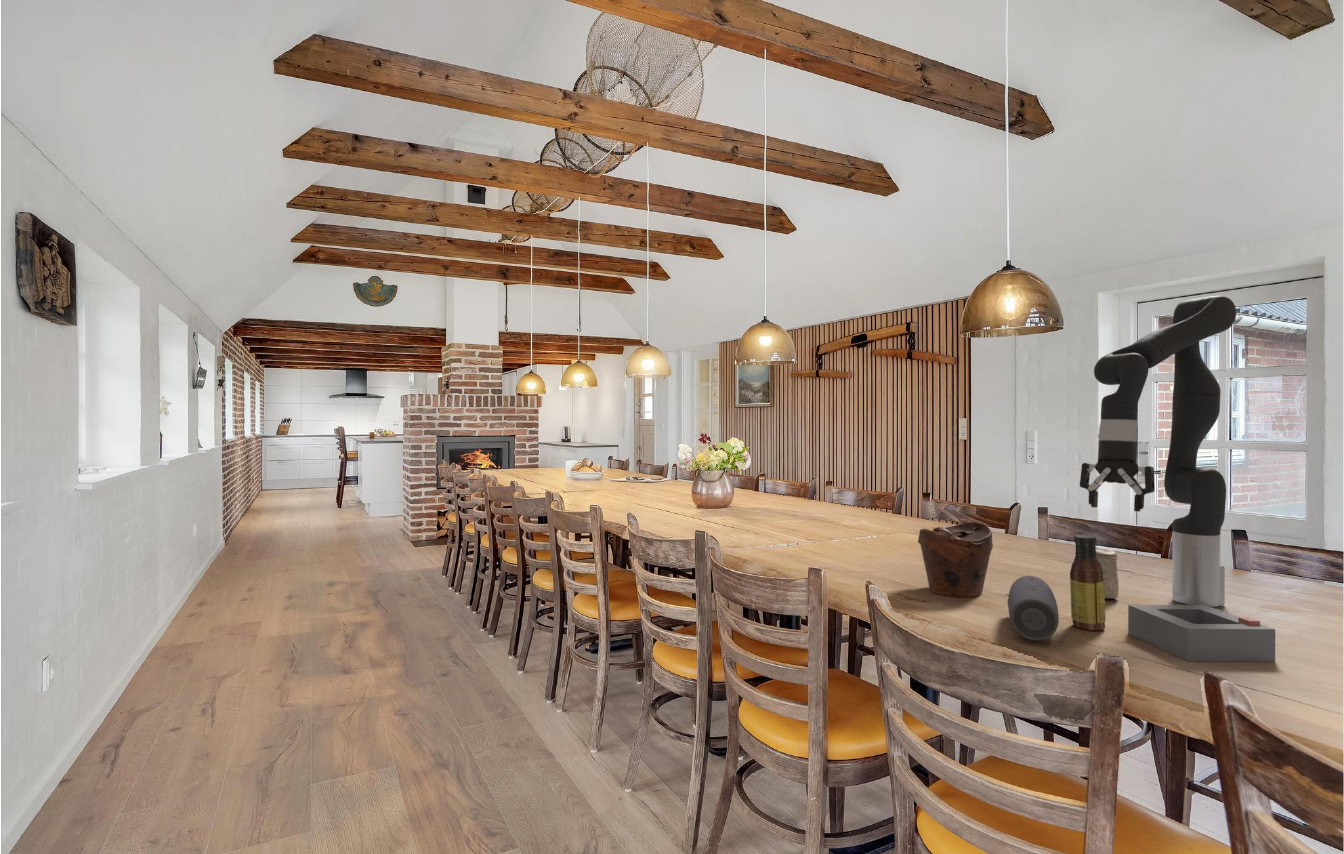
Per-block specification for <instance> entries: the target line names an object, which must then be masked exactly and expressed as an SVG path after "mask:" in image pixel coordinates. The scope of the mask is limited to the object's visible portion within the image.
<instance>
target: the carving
mask: <svg viewBox="0 0 1344 854" xmlns="http://www.w3.org/2000/svg"><path fill="white" fill-rule="evenodd" d="M1096 558H1097V560H1098V561H1099V563H1100V564H1101V567H1102V569H1103V580H1104V596H1105V599H1111V600H1113V599H1118V598H1119V594H1120V592H1119V589H1120V586H1119V576H1118V566H1117V565H1118V562H1117V561H1118V554H1117V552H1116V551H1114V550H1111V549H1098V548H1097V549H1096Z"/></svg>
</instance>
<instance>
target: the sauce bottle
mask: <svg viewBox="0 0 1344 854" xmlns="http://www.w3.org/2000/svg"><path fill="white" fill-rule="evenodd" d="M1073 539H1074V544H1075V553H1074V554H1075V555H1074V559H1073V562H1072V564H1071V568H1070V573H1069V586H1070V588H1069V589H1070V612H1071V613H1070V614H1071V619H1072V624H1073V626H1074V627H1076V628H1079V629H1080V630H1083V631H1094V632H1095V631H1098V632H1100V631H1103V630H1104V629H1106V623H1105V622H1106V602H1105V601H1106V600H1105V599H1106V598H1105V596H1104V580H1103V569H1102V567H1101V564H1100V563H1099V561H1098V560H1097V558H1096V547H1097V546H1096V544H1097V543H1098V542H1097V537H1096V536H1095V535H1091V534H1076V535H1074V538H1073Z"/></svg>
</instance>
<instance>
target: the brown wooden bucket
mask: <svg viewBox="0 0 1344 854" xmlns="http://www.w3.org/2000/svg"><path fill="white" fill-rule="evenodd" d="M917 543H918V544H919V545H920V549H921V553H922V558H923V563H924V567H925V568H924V569H925V572H926V578H927V582H928V583H927V584H928V588H929V591H930V592H932V593H933V594H937V595H942V596H947V597H954V598H972V597H973V598H974V597H978V596H981V595H982V594H983V589H984V586H985V581H986V575H987V573H988V566H989V562H990V558H991V553H992V550H993V549H994V547H993V546H994V544H993V532H992V530H991V528H990V527H989V526H987V525H986V524H985V523H981V522H977V521H975V522H974V521H973V522H972V521H971V522H964V523H960V524H957V525H953V526H947V527H943V526H942V527H941V526H939V527H935V528H933V529H928V528H921V529H919V533H918V541H917Z"/></svg>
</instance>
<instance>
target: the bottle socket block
mask: <svg viewBox="0 0 1344 854" xmlns="http://www.w3.org/2000/svg"><path fill="white" fill-rule="evenodd" d="M1127 605H1128V606H1127V607H1128V608H1127V611H1128V614H1127V615H1128V616H1127V624H1128V625H1127V628H1128V629H1127V632H1128V634H1129V635H1130V636H1133V637H1135V638H1137V639H1139V640H1141V641H1144V642H1145V643H1148V644H1150V645H1152V646H1155V647H1157V648H1159V649H1161V650H1163V651H1165V652H1167V653H1169V654H1172V655H1174V656H1176V657H1179V658H1180V659H1183V660H1185V661H1186V662H1253V663H1254V662H1262V663H1263V662H1264V663H1266V662H1267V663H1269V662H1273V663H1274V662H1276V629H1275V628H1272V627H1269V626H1267V625H1265V624H1261V621H1260V620H1258V619H1255V618H1252V617H1246V616H1245V617H1244V616H1238V615H1235V614H1233V613H1229V612H1226V611H1223V610H1221V609H1217V608H1216V607H1209V606H1206V605H1188V604H1127Z"/></svg>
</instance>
